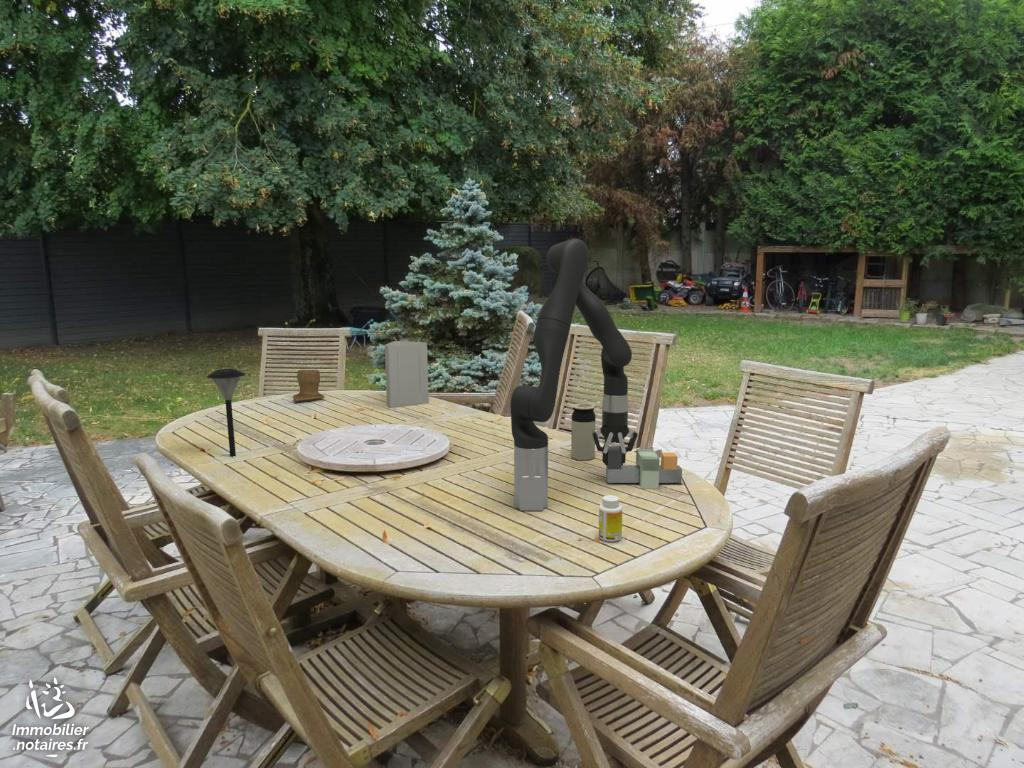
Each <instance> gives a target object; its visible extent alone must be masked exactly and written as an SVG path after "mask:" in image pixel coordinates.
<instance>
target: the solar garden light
mask: <svg viewBox="0 0 1024 768" xmlns="http://www.w3.org/2000/svg"><path fill="white" fill-rule="evenodd" d="M245 375H246V373H245V372H242V371H241V370H238V369H236V368H221V369H217V370H214V371H212V372H211V373H210V374H209V375H207V376H206V378H208V379H212V381H213V382H214V383H215V385H216V387H217V388H218V390H219V392H220V393H221V396H222V397H223V399H224V400H225V401H224V402H225V410H226V411H225V412H226V414H225V415H226V424H227V437H228V449H229V457H230V456H235V457H236V456H237V454H236V453H237V452H236V441H235V430H234V429H235V428H234V417H233V406H232V405H233V404H232V399H233V396H234V393H235V390H236V388H237V385H238V384H239V380H240V378H241V377H244V376H245Z"/></svg>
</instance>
